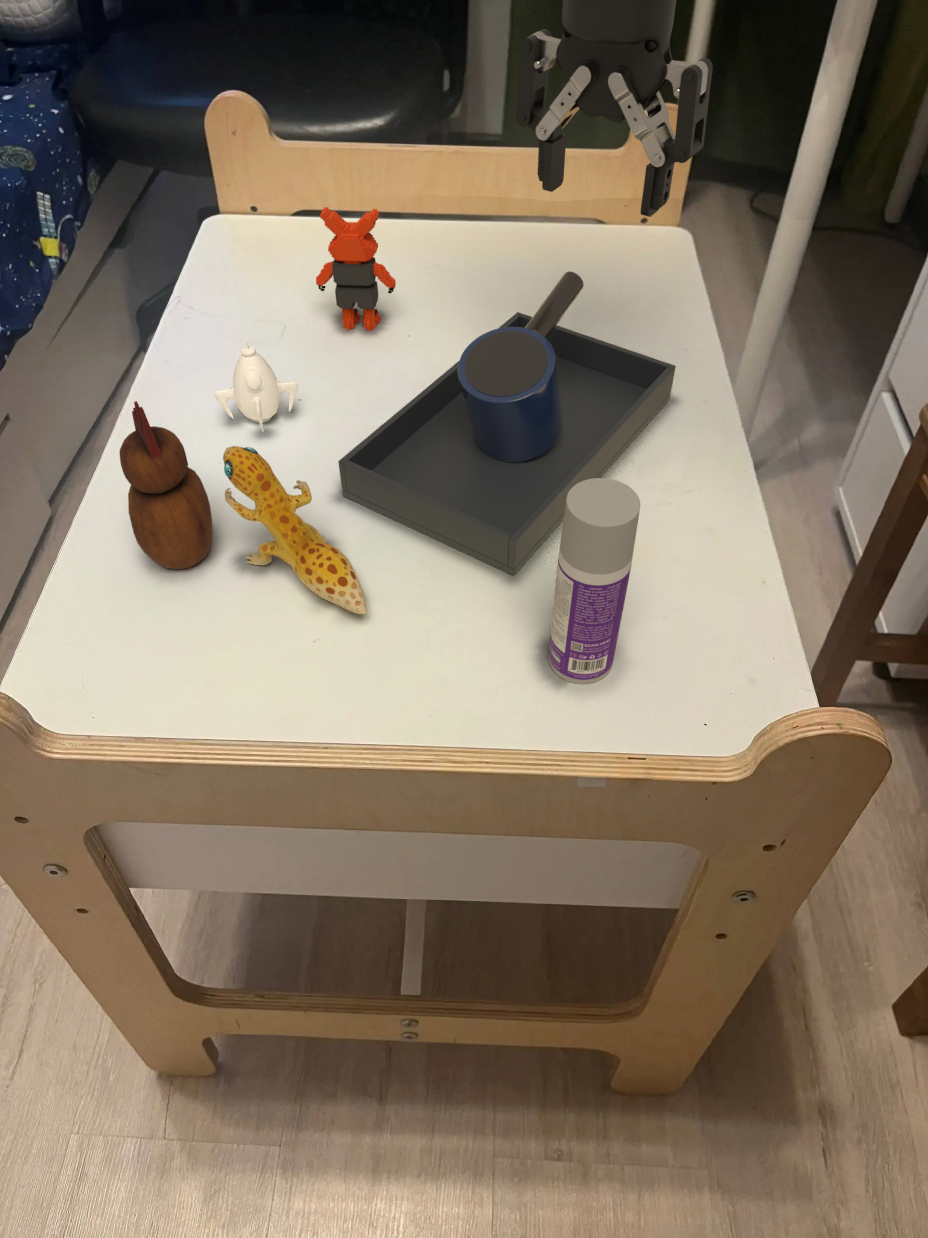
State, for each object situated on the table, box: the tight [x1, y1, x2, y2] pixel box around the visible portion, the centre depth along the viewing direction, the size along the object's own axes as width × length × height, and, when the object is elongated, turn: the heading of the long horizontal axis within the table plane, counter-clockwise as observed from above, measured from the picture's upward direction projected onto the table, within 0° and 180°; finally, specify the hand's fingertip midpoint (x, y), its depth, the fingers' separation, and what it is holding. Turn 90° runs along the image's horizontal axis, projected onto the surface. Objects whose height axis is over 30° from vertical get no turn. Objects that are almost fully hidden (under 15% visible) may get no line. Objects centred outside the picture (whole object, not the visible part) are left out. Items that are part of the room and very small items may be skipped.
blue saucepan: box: [458, 271, 585, 462], centre depth 79 cm, size 15×8×8 cm, turn 146°
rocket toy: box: [213, 341, 299, 433], centre depth 83 cm, size 5×5×8 cm
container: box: [547, 477, 641, 685], centre depth 60 cm, size 5×5×15 cm
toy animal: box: [315, 206, 396, 332], centre depth 93 cm, size 8×6×12 cm
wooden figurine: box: [119, 400, 213, 570], centre depth 68 cm, size 7×6×15 cm
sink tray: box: [337, 311, 677, 576], centre depth 81 cm, size 17×28×4 cm, turn 146°
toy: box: [222, 445, 367, 615], centre depth 68 cm, size 7×15×10 cm, turn 51°
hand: (600, 199), depth 71 cm, fingers open, 8 cm apart
